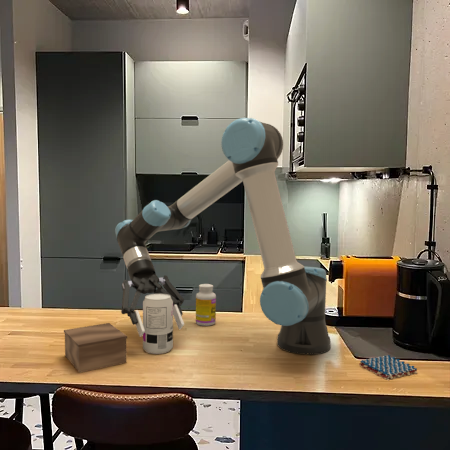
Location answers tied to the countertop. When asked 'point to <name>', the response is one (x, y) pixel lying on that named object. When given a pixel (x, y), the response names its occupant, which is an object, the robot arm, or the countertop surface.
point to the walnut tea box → (95, 347)
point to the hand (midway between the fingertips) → (162, 330)
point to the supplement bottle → (205, 305)
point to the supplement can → (158, 323)
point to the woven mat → (388, 367)
